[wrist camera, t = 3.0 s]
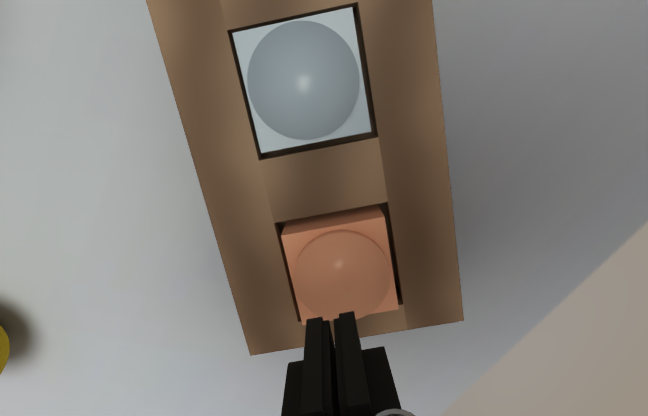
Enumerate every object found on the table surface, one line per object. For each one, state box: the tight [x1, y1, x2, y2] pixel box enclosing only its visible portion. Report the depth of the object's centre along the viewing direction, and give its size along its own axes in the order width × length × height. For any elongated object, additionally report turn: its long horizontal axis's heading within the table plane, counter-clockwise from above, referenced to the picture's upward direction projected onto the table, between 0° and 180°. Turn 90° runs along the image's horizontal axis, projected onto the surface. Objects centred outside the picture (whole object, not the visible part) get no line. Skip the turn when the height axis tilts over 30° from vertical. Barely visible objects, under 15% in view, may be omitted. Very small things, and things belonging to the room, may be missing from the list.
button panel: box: [146, 0, 464, 356], centre depth 18 cm, size 12×27×4 cm, turn 11°
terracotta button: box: [281, 204, 399, 325], centre depth 18 cm, size 5×5×3 cm
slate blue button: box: [232, 7, 371, 153], centre depth 16 cm, size 5×5×3 cm
